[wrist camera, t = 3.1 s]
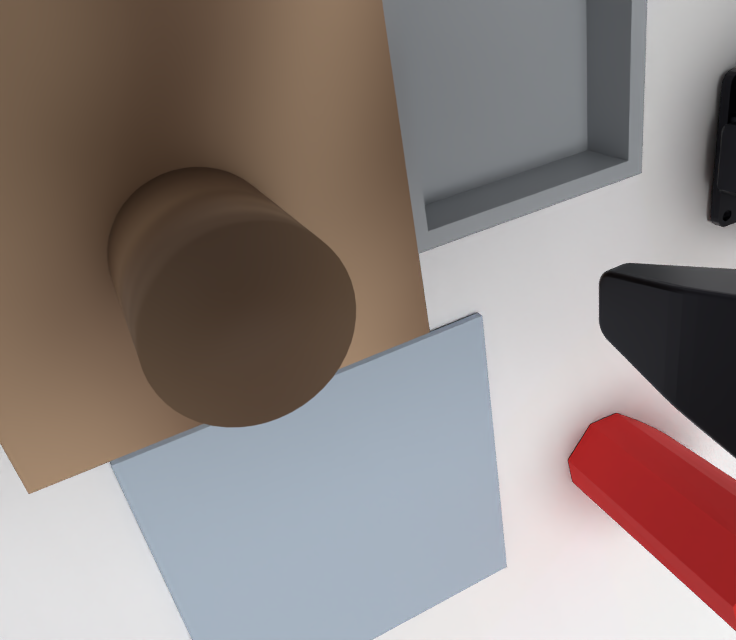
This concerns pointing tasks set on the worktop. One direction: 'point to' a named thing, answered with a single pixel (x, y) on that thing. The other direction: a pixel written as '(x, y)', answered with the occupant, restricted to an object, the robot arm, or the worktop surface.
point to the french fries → (664, 503)
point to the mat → (332, 500)
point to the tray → (513, 105)
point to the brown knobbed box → (192, 218)
